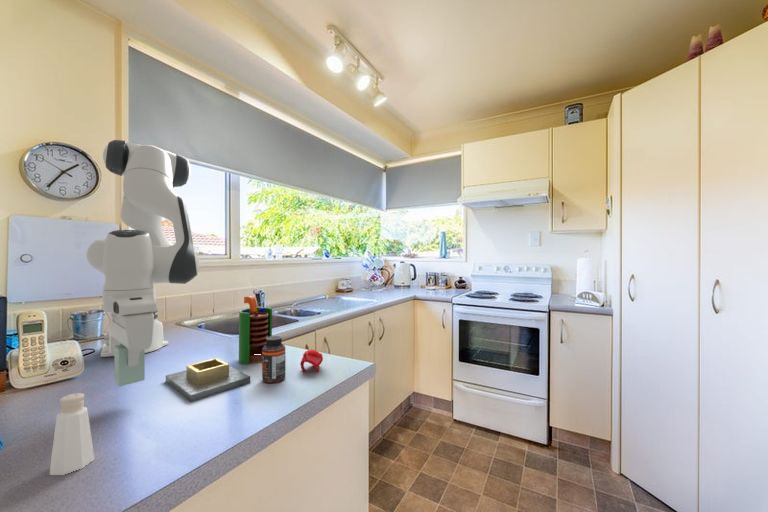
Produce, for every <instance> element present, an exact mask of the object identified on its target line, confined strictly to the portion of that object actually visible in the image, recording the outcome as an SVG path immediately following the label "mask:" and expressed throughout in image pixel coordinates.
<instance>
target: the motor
mask: <svg viewBox="0 0 768 512" xmlns="http://www.w3.org/2000/svg"><path fill="white" fill-rule="evenodd" d="M256 299H257V298H256V297H255V296H253V295H250V296H244V297H243V300H244V301H243V303H244V304H248V305H249V307H248V308H244V309H240V310H239V312H238V362H239V363H241V364H243V365H249V364H250V363H249V362H256V363H259V362H258V361H262V349H263V347H264V346H265V345H266V338H267V337H270V336H273V308H271V307H258V306H257V300H256ZM254 354H261V355H254Z"/></svg>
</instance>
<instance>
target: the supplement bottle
mask: <svg viewBox="0 0 768 512" xmlns="http://www.w3.org/2000/svg"><path fill="white" fill-rule="evenodd" d="M285 378H286V345H285V344H284V343H283V340H282V336H280V335H272V336H270V337H267V338H266V345H265V346H264V347H263V349H262V362H261V379H262V382H264V383H267V384H273V383H279V382H281V381H283V380H285Z"/></svg>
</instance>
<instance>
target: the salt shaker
mask: <svg viewBox="0 0 768 512" xmlns="http://www.w3.org/2000/svg"><path fill="white" fill-rule="evenodd" d="M84 398H85V394H84V393H81V392H77V393H71V394H68V395H65V396H63V397H61V398H60V399H59V403H60V412H59V413H57V414H56V419H55V424H54V425H55V426H54V434H53V435H54V436H53V441H52V442H53V443H52V449H51V457H50V458H51V459H50V465H49V475H50V476H66V475H68V473H69V474H72V473H73V471H74V472H76V470H77V471H80V470H82V469H84V468H85V467H87V466H88V465H89V464H90V462H91V463H92V462H93V461H94V460H95V452H94V446H93V439H92V433H91V432H92V431H91V430H92V429H91V423H90V418H89V411H88V407H86V406H84V405H85V399H84ZM86 465H87V466H86ZM79 469H80V470H79ZM71 472H72V473H71ZM65 474H66V475H65Z"/></svg>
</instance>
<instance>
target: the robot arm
mask: <svg viewBox="0 0 768 512" xmlns="http://www.w3.org/2000/svg"><path fill="white" fill-rule="evenodd" d="M102 159H103V163H104V165H105V168H106V169H107V170H108V171H109V172H110V173H112V174H115V175H117V176H120V177H122V176H123V180H122V190H123V197H122V202H121V203H122V204H121V208H120V220H121V221H122V223H124V224H125V226H127V227H129V228H130V229H119V230H118V229H117V230H116V229H115V230H113V231H110V232H108V233H107V234H106V236H105V237H106V238H104V239H96V240H94V241H93V242H92V243H91V244H90V245H89V246H88V247H87V251H86V259H87V262H88V263H89V265H90V266H91V267H93V268H94V269H95V270H97V271H99V272H100V273H102V274H103V275H104V276H105V282H104V285H103V287H102V304H103V305H102V308H103V309H102V311H103V312H105V313H110V328H109V329H110V330H108V332H106V333H104V334H103V341H106V342H105V343H104V344H103V346H102V348H101V351H100V356H99V357H100V358H106V357H114V346H116V345H121V344H122V345H123V346H125V347H126V348H127V351H128V358H127V364H128V366H130V367H132V366H136V365H138V364H139V355H140V352H141V350H143V349H144V352H145V354H147V353H150V352H153V351H157V350H159V349H161V348H162V347H164V346H167V345H169V341H168V340H164V329H163V328H164V327H163V322H161V321H159V320H158V315H159V312H158V302H157V290H156V287H155V285H154V284H181V285H185V284H187V283H189V282H191V281H192V280H193V279H195V277H197V276H198V274H199V269H200V261H199V257H198V254H197V252H196V250H195V247H194V242H193V234H192V229H191V222H190V219H189V214H188V211H187V206H186V202H185V200H184V198H183V197H182V196H180V195H178V194H177V193H176V192H175V191H174V188H179V187H183V186H185V185H186V184H187V182H189V180H190V177H191V174H192V169H191V165H190V161H189V159H188V158H187V157H185V156H183V155H180V154H178V153H176V154H175V153H172V152H171V151H168V150H164V149H162V148H159V147H157V146H155V145H150V144H145V145H143V144H139V143H134V142H128V141H126V140H122V139H113V140H111V141H109V142H108V144H107V145H106V146H105V148H104V150H103V152H102ZM163 218H164V219H167V220H168V221H170V222H171V223H172V226H173V231H174V232H173V233H174V238H175V243H174V244H173V243H172V242H170V240H169V239H168V238H167V237H166V235H165V233H164V230H163V225H162V224H163Z"/></svg>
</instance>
